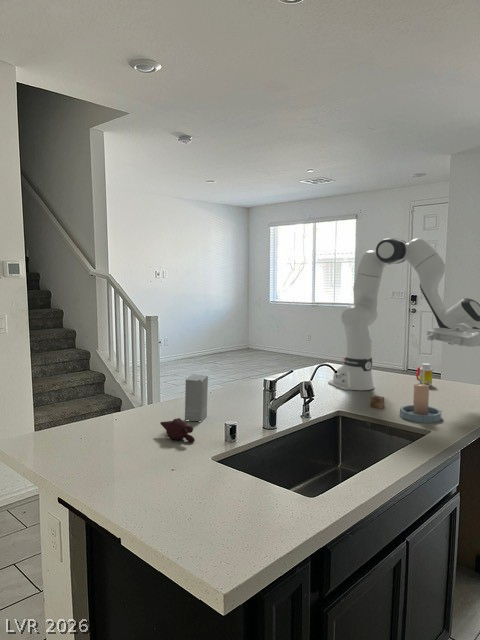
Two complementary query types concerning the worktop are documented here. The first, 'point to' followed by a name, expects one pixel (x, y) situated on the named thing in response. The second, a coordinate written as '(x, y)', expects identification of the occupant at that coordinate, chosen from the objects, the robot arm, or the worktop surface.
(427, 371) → the supplement bottle
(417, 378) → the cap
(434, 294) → the robot arm
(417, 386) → the peach tapered cylinder
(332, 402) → the worktop surface
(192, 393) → the skincare box
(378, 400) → the walnut block
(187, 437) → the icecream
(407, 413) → the dish
